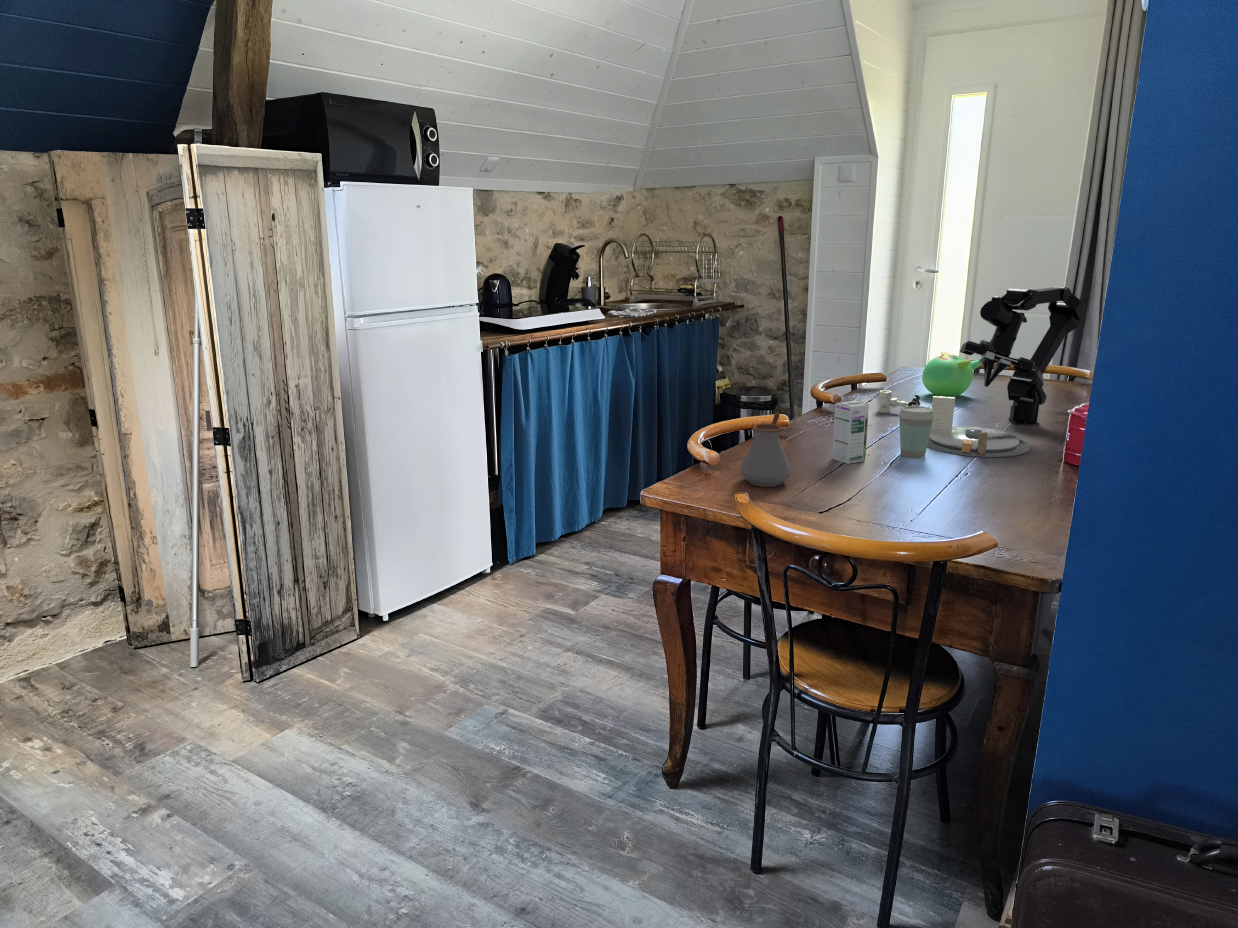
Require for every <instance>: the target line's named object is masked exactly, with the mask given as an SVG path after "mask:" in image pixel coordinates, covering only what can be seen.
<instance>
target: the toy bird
mask: <svg viewBox="0 0 1238 928" xmlns="http://www.w3.org/2000/svg"><path fill="white" fill-rule="evenodd" d="M940 354H941V355H939V356H935V357H934V358H932V359H930V360H929V362H928V363H926V364H925V366H924V368H923V371H922V375H921V379H922V381H921V382H922V384H923V387H925V390H927V391H928V392H929V393H931V394H932V395H935V396H940V397H957V396H960V395H962V394H963V393H965V392H966V391H968V389H969V388H970V387H971V385H972V383H973V380H974V375H975V374H974V370H976V369H977V368H979V367H980V366H981V365H983V363H982V362H980V361H979V360H980V359H976V360H969V359H968V360H967V359H965V358H963V357H961V356H959V355H956V354H951V353H948V352H945V351H940Z"/></svg>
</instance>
